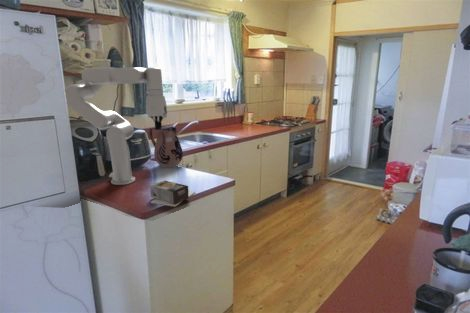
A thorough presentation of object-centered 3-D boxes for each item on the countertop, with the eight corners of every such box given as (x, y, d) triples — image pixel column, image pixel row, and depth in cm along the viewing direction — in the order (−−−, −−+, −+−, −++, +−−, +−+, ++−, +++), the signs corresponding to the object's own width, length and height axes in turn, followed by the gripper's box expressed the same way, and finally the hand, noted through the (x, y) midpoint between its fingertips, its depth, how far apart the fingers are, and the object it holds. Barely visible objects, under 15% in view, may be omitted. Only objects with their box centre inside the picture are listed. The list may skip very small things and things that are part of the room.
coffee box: (164, 179, 157) (188, 185, 148) (165, 192, 158) (189, 198, 149) (149, 184, 150) (174, 191, 141) (150, 197, 151) (175, 205, 142)
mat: (150, 202, 147) (150, 201, 147) (173, 189, 163) (172, 188, 163) (175, 206, 142) (174, 205, 142) (195, 192, 158) (195, 191, 158)
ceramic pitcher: (178, 170, 196) (175, 129, 190) (145, 169, 199) (141, 129, 193) (187, 162, 213) (184, 124, 206) (156, 161, 216) (153, 124, 210)
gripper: (138, 93, 162) (142, 129, 167) (163, 93, 156) (166, 130, 161) (147, 92, 169) (151, 127, 173) (172, 92, 163) (174, 128, 168)
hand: (158, 128), depth 167 cm, fingers closed
